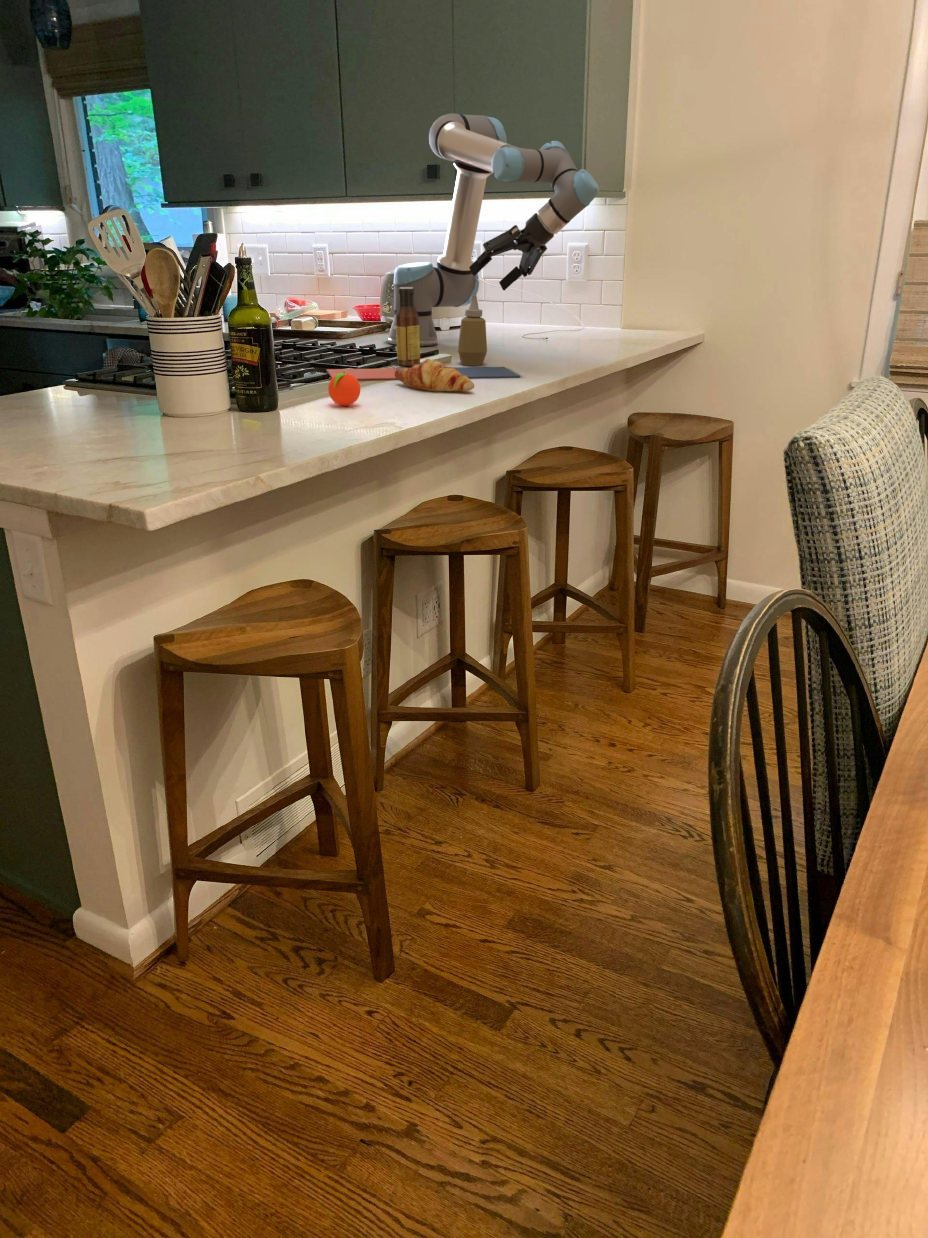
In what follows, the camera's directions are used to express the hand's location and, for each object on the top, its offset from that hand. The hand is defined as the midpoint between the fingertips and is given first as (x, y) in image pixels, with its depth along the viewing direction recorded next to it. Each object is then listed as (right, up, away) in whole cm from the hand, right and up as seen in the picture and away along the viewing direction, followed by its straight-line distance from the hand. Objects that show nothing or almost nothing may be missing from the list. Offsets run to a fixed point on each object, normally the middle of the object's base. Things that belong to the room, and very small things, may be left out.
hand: (486, 279), depth 250 cm
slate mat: (-2, -27, -7) cm, 28 cm away
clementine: (-32, -46, -49) cm, 74 cm away
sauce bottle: (-21, -23, +2) cm, 31 cm away
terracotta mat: (-31, -29, -14) cm, 45 cm away
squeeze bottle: (-4, -21, +6) cm, 23 cm away
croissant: (-13, -37, -28) cm, 48 cm away
